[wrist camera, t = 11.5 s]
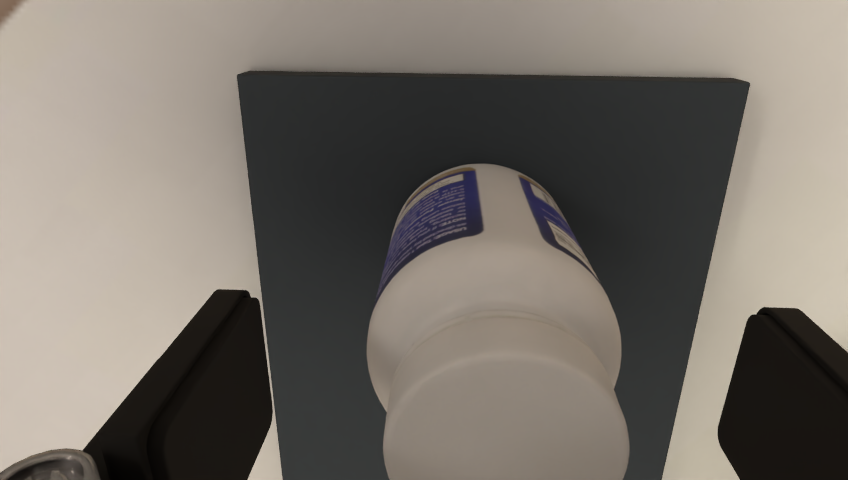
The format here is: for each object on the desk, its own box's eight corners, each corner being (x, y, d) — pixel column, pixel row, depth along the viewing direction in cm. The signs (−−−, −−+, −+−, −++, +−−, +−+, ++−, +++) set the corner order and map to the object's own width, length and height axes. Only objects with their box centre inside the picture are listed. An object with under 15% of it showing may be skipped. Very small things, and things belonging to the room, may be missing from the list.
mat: (248, 70, 17) (236, 74, 16) (734, 78, 16) (751, 81, 15) (295, 519, 23) (289, 540, 22) (636, 536, 23) (644, 559, 22)
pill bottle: (388, 311, 18) (333, 558, 10) (398, 153, 16) (339, 299, 8) (552, 326, 18) (632, 589, 10) (582, 168, 16) (714, 334, 8)
